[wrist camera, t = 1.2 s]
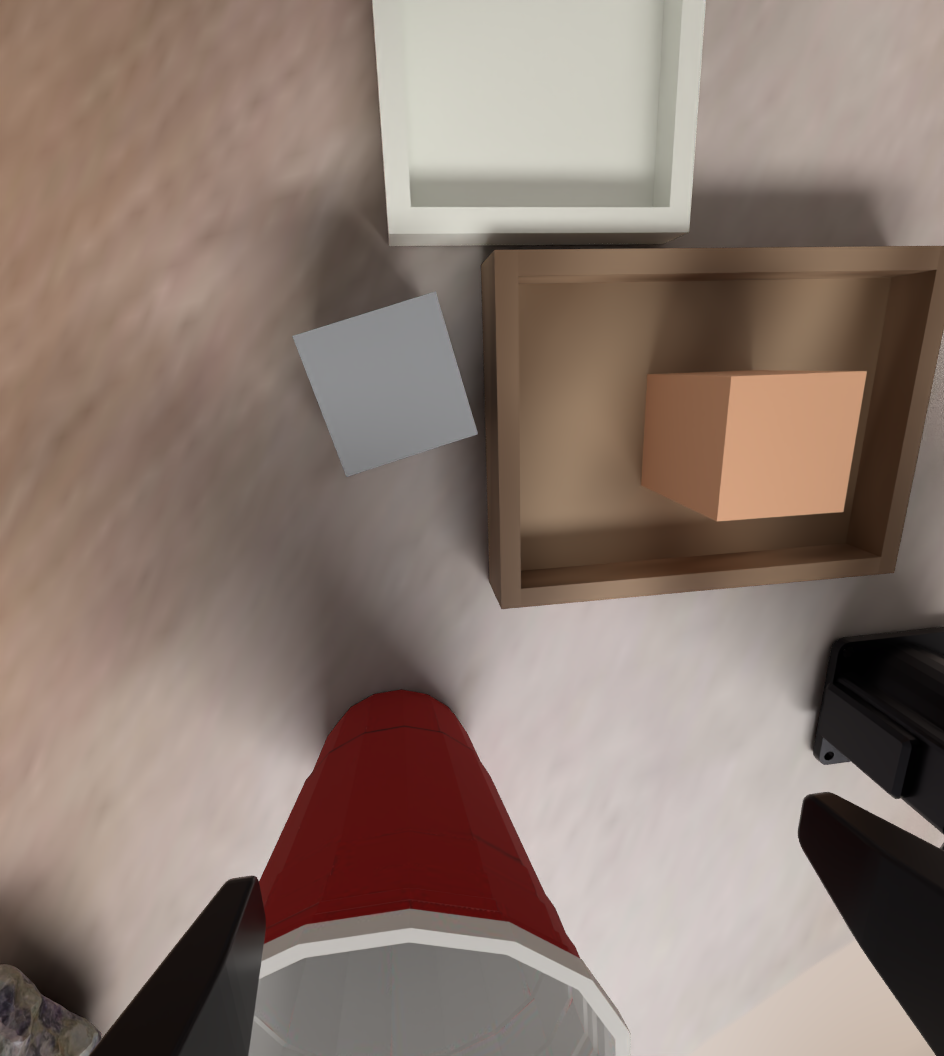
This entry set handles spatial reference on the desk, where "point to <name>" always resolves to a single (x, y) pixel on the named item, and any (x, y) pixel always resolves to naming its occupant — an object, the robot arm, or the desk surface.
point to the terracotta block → (752, 440)
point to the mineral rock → (39, 1021)
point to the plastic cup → (415, 909)
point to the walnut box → (685, 347)
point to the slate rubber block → (387, 383)
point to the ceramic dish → (538, 119)
